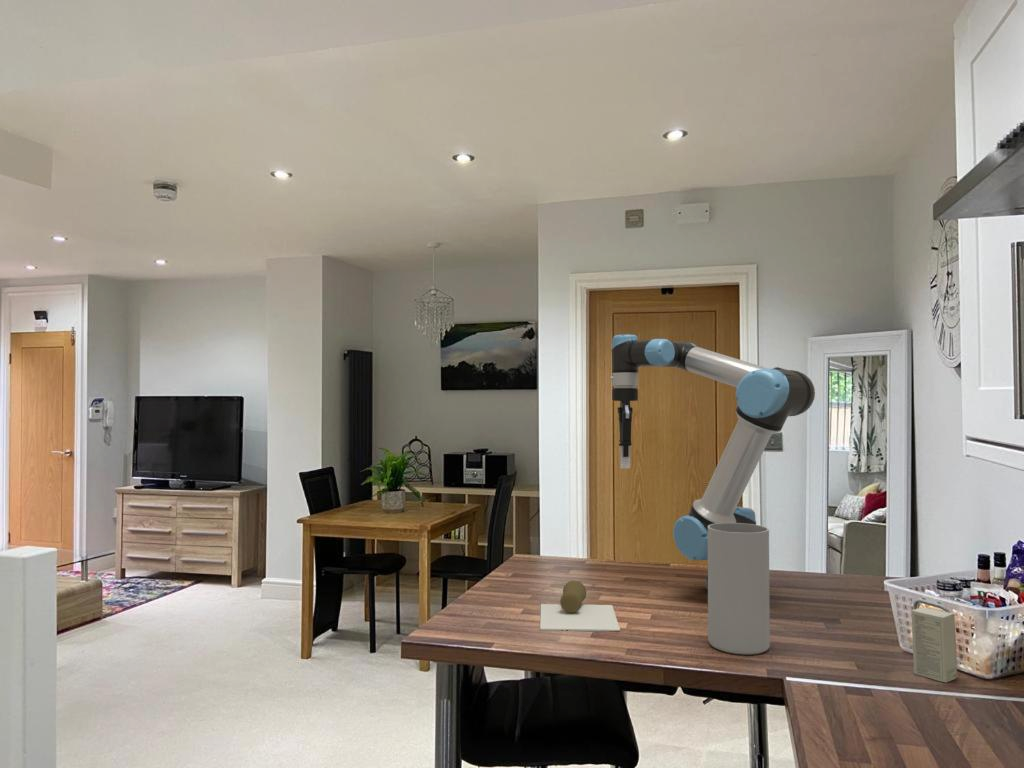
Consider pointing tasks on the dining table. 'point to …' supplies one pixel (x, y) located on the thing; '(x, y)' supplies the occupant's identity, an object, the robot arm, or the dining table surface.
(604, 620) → the felt mat
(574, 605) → the cork
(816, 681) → the dining table surface
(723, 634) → the cylinder vase
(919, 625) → the skincare box
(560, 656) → the dining table surface
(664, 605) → the dining table surface
